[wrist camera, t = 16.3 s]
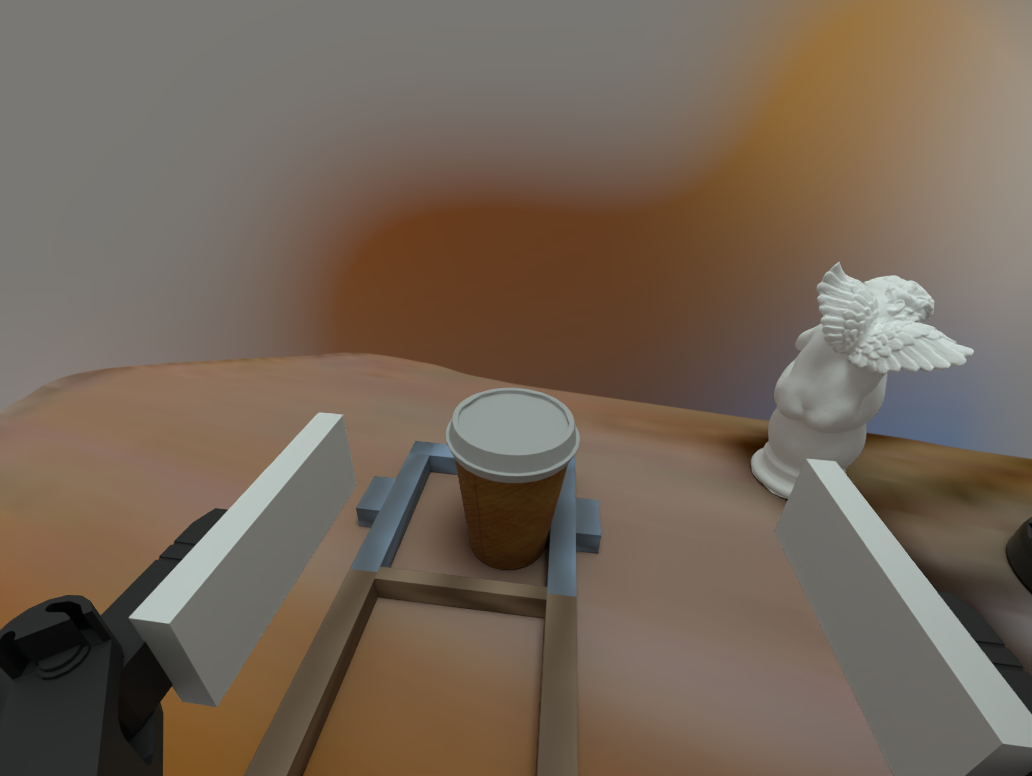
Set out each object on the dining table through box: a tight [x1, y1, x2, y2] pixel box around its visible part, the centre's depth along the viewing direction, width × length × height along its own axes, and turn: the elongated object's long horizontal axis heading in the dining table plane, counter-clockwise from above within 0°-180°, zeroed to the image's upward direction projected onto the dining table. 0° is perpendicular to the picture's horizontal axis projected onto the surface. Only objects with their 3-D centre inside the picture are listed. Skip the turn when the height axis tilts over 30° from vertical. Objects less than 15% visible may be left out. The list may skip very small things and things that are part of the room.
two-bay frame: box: [244, 441, 601, 776], centre depth 32 cm, size 20×31×2 cm, turn 174°
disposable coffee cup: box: [446, 388, 580, 570], centre depth 35 cm, size 10×10×12 cm
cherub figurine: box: [751, 262, 974, 499], centre depth 39 cm, size 12×12×22 cm
